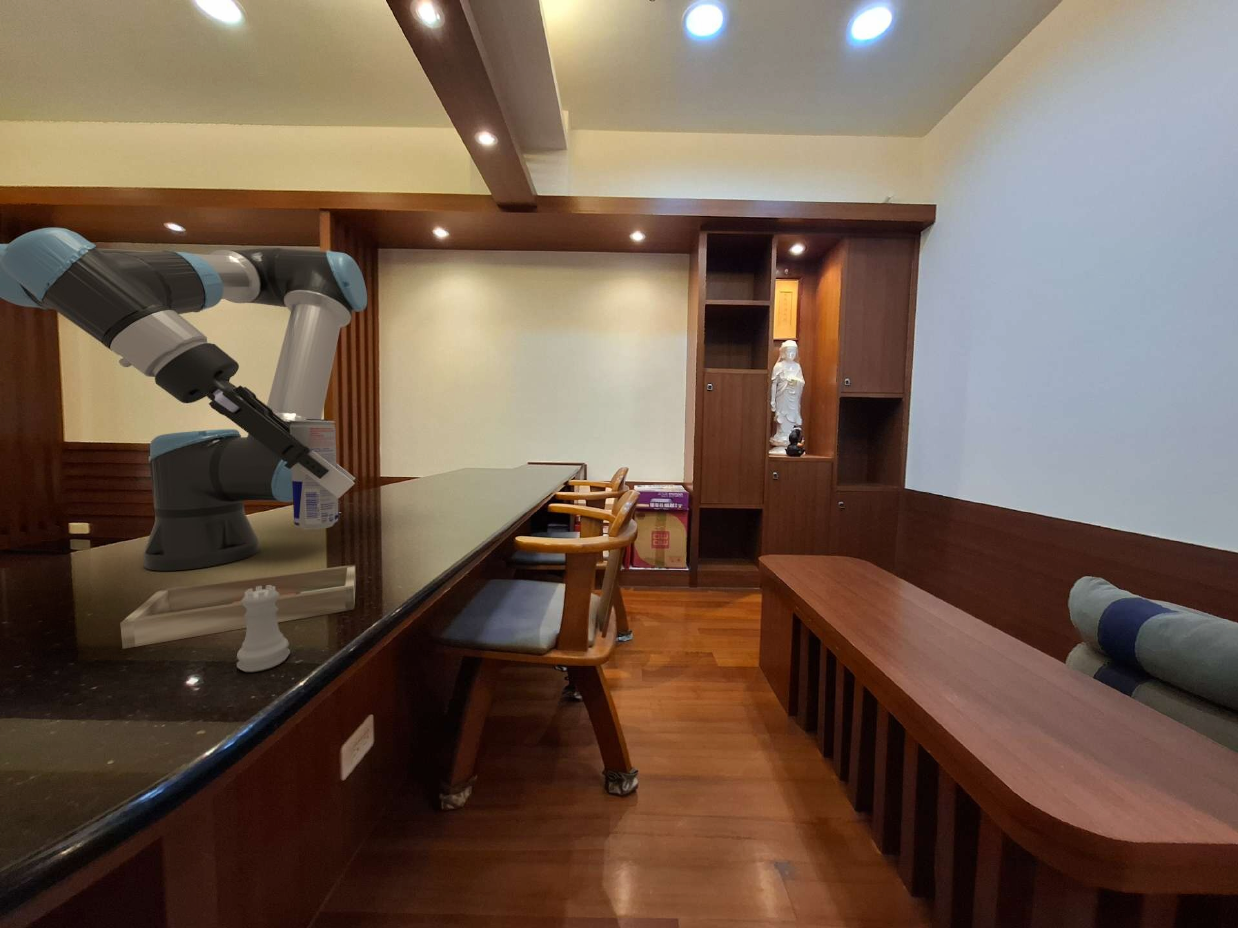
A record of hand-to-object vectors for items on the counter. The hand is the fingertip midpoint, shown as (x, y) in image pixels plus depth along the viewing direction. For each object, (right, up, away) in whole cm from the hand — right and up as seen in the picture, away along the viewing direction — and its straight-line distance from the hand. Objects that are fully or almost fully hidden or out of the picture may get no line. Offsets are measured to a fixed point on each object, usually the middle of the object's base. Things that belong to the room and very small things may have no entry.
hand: (347, 487), depth 62 cm
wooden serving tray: (-10, -16, -4) cm, 19 cm away
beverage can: (-3, -6, -1) cm, 7 cm away
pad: (-4, -16, 0) cm, 17 cm away
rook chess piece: (+1, -18, -16) cm, 24 cm away
